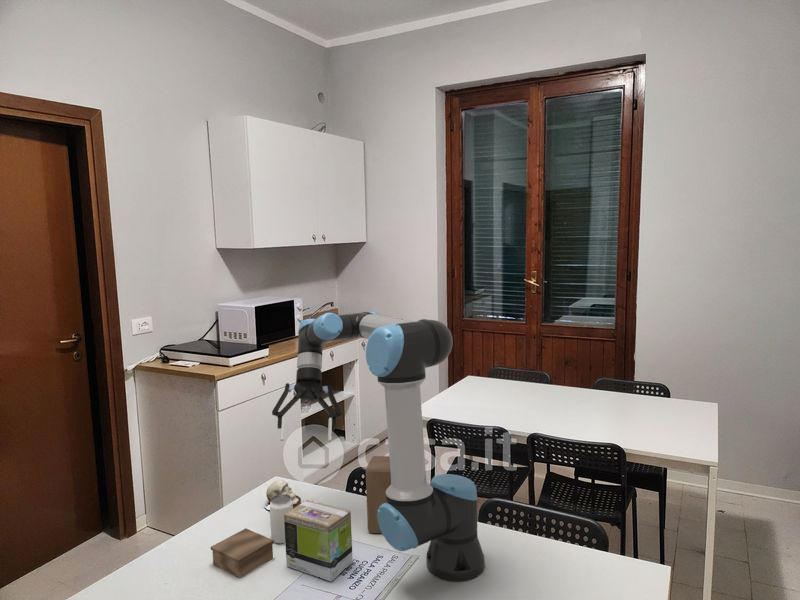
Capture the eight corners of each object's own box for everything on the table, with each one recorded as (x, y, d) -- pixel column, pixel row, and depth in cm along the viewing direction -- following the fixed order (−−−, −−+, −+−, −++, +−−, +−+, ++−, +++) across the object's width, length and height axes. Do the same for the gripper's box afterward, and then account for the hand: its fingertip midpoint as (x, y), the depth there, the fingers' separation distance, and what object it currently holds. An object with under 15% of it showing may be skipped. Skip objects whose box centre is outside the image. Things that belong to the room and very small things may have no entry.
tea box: (354, 563, 150) (352, 509, 149) (330, 583, 142) (328, 527, 140) (309, 548, 158) (307, 497, 156) (285, 567, 149) (282, 513, 148)
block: (401, 536, 163) (399, 469, 161) (367, 534, 165) (364, 467, 163) (406, 519, 173) (404, 455, 171) (374, 517, 175) (372, 454, 172)
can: (296, 532, 167) (295, 493, 165) (290, 544, 160) (288, 504, 159) (275, 532, 167) (273, 493, 166) (268, 544, 161) (266, 503, 160)
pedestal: (274, 557, 154) (273, 540, 153) (239, 579, 144) (238, 560, 144) (246, 545, 161) (245, 528, 160) (211, 564, 151) (210, 546, 151)
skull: (309, 493, 190) (298, 480, 183) (297, 524, 184) (285, 511, 176) (278, 488, 194) (266, 474, 187) (265, 517, 188) (252, 505, 180)
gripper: (348, 374, 178) (347, 443, 170) (267, 371, 173) (261, 441, 165) (351, 367, 172) (350, 439, 163) (267, 364, 167) (261, 437, 158)
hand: (305, 440), depth 164 cm, fingers open, 13 cm apart
